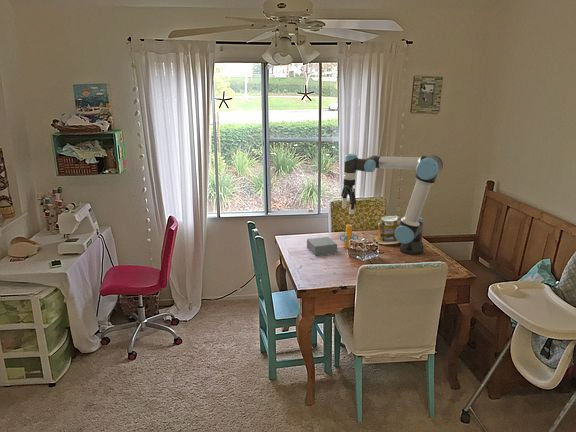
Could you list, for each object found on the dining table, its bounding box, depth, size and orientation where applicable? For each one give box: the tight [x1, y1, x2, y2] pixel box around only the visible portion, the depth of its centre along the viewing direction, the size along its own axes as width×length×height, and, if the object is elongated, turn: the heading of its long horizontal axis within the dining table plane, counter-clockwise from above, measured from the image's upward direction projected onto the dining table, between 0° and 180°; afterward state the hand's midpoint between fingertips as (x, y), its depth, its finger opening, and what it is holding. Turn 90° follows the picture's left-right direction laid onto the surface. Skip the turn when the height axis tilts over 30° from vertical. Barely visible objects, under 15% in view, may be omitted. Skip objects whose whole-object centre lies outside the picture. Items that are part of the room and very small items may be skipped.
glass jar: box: [374, 215, 401, 245], centre depth 334 cm, size 25×25×17 cm
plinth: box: [306, 236, 338, 256], centre depth 318 cm, size 15×15×6 cm
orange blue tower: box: [339, 224, 359, 249], centre depth 323 cm, size 12×10×15 cm
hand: (347, 210), depth 318 cm, fingers open, 13 cm apart
